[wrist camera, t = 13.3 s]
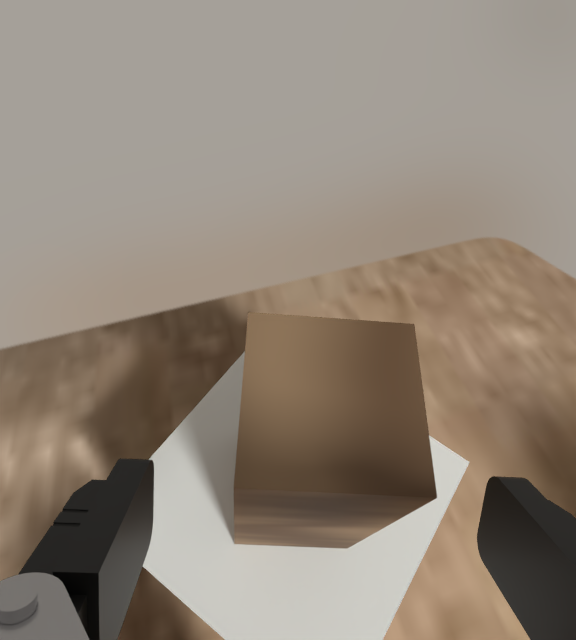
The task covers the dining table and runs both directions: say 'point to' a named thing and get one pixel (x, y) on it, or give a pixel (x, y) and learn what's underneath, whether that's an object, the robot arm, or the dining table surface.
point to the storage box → (274, 561)
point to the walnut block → (329, 431)
